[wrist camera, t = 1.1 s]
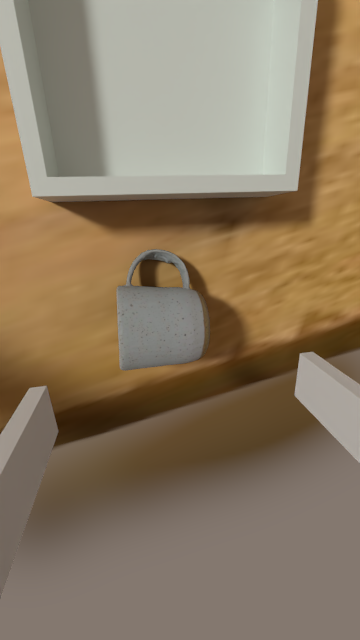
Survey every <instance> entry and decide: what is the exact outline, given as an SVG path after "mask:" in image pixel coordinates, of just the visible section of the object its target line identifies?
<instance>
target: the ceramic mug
mask: <svg viewBox="0 0 360 640" xmlns="http://www.w3.org/2000/svg"><path fill="white" fill-rule="evenodd" d="M146 259H152V260H161V261H165V262H166V263H171V262H172V263H173V264H175V266H176V267H177V268H178V269H179V271H180V275H181V277H182V282H183V288H178V287H170V288H167V287H164V288H163V287H145V286H133V285H132V284H131V279H132V275H133V272H134V270H135V268H136V266H137V265H138V264H139V263H140V262H141V261H142V260H146ZM189 284H190V283H189V276H188V271H187V269H186V267H185V264H184V263H183V262H182V261H181V260H180V258H178V257H177V256H176V255H175V254H173V253H171V252H168V251H165V250H157V249H154V250H147V251H145V252H143V253H141V254H140V255H139V256H138V257H137V258H136V259H135V260H134V261H133V263H132V265H131V267H130V269H129V272H128V277H127V283H126V285H125V286H118V287H117V314H118V335H119V352H120V369H121V370H132V369H140V368H148V367H157V366H164V365H173V364H182V363H188V362H192V361H195V360H198V359H200V358H201V357H203V356H204V354H205V353H206V350H207V348H208V345H209V339H210V318H209V313H208V307H207V304H206V301H205V299H204V297H203V296H202V295H201V294H200V293H199V292H198V291H196V290H192V289H190V287H189Z"/></svg>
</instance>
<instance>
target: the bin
mask: <svg viewBox="0 0 360 640" xmlns="http://www.w3.org/2000/svg"><path fill="white" fill-rule="evenodd" d="M317 4H318V0H0V47H1V51H2V56H3V61H4V65H5V70H6V75H7V79H8V84H9V89H10V93H11V98H12V103H13V107H14V112H15V117H16V121H17V126H18V131H19V135H20V140H21V145H22V150H23V154H24V159H25V164H26V168H27V173H28V178H29V182H30V187H31V192H32V196H33V197H36V198H39V199H43V200H46V201H49V202H81V201H120V200H159V199H198V198H237V197H269V196H274V195H279V194H283V193H288V192H293V191H297V190H298V181H299V171H300V162H301V153H302V144H303V134H304V125H305V116H306V106H307V97H308V88H309V79H310V69H311V60H312V51H313V42H314V32H315V23H316V14H317Z"/></svg>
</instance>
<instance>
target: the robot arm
mask: <svg viewBox="0 0 360 640" xmlns="http://www.w3.org/2000/svg"><path fill="white" fill-rule="evenodd" d="M295 397H296V398H297V399H299V401H300V402H301V403H302V404H303V405H304V406H305V407H306V408H307V409H308V410H309V411H310V412H311V413H312V414H313V415H314V416H315V417H316V418H317V419H318V420H319V421H320V423H321V424H322V425H323V426H324V427H325V428H326V429H327V430H328V431H329V432H330V433H331V434H332V435H333V436H334V437H335V438H336V439H337V440H338V441H339V442H340V443H341V444H342V445H343V446H344V448H345V449H346V450H347V451H348V452H349V453H350V454H352V456H353V457H354V458H355V459H356V460H357V461H358V462H359V463H360V384H358V383H357V382H355V381H354V380H352V379H351V378H350V377H348V376H347V375H345V374H344V373H342V372H341V371H339V370H338V369H337V368H335V367H334V366H332V365H331V364H329V363H328V362H327V361H325V360H324V359H322V358H321V357H319V356H318V355H316V354H315V353H314V352H308V353H300V358H299V365H298V373H297V380H296V388H295ZM58 432H59V431H58V428H57V424H56V420H55V416H54V412H53V408H52V404H51V400H50V396H49V392H48V388H47V386H41V387H33V388H29V390H28V391H27V393H26V394H25V396H24V398H23V399H22V401H21V402H20V404H19V406H18V407H17V409H16V410H15V412H14V414H13V415H12V417H11V418H10V420H9V422H8V423H7V425H6V427H5V428H4V430H3V431H2V433H1V435H0V597H1V594H2V592H3V589H4V586H5V583H6V580H7V577H8V575H9V571H10V569H11V566H12V563H13V560H14V557H15V554H16V552H17V549H18V546H19V543H20V540H21V537H22V535H23V532H24V529H25V526H26V523H27V520H28V517H29V515H30V512H31V509H32V506H33V503H34V500H35V497H36V495H37V492H38V488H39V486H40V483H41V480H42V477H43V475H44V471H45V469H46V466H47V463H48V460H49V457H50V454H51V452H52V449H53V446H54V443H55V440H56V437H57V435H58Z"/></svg>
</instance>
